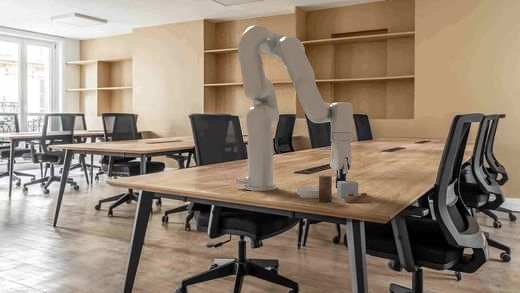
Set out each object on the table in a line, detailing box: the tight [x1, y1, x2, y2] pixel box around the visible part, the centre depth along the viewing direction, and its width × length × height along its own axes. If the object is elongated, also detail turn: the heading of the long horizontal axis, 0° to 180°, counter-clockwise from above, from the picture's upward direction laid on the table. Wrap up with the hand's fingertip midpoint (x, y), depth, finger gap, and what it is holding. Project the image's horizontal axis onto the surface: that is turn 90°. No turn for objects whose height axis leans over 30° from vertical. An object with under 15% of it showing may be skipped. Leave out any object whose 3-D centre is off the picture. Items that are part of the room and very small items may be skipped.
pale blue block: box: [336, 180, 359, 199], centre depth 145 cm, size 6×4×5 cm, turn 98°
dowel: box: [318, 175, 333, 203], centre depth 136 cm, size 4×4×8 cm
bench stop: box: [343, 192, 371, 203], centre depth 136 cm, size 8×2×3 cm, turn 98°
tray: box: [296, 185, 333, 200], centre depth 146 cm, size 10×10×2 cm
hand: (340, 188), depth 152 cm, fingers closed
